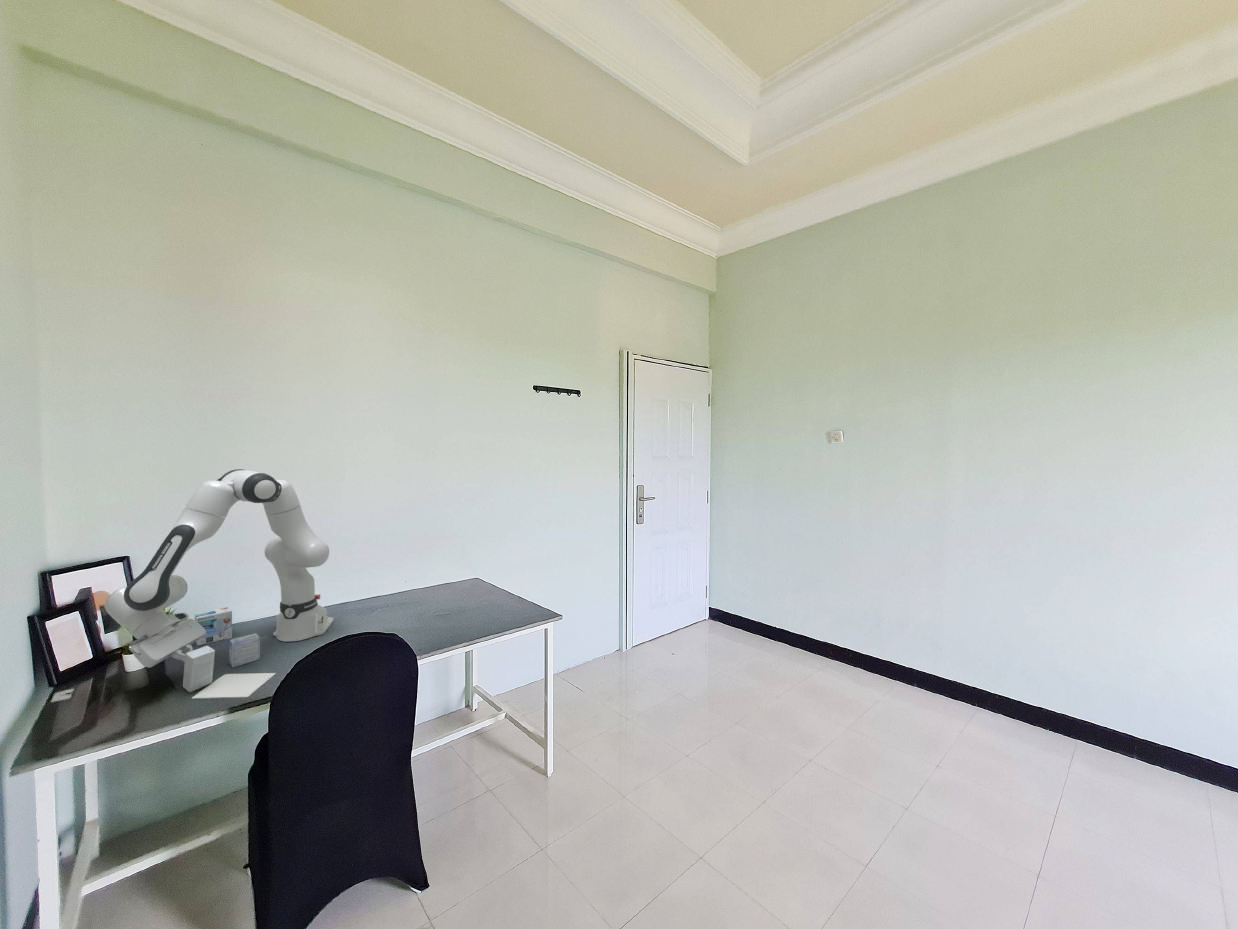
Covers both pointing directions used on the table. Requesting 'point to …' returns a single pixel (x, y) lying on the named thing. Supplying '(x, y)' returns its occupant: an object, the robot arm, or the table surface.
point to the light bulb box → (215, 624)
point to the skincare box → (198, 668)
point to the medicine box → (244, 650)
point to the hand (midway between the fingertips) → (191, 659)
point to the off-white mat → (234, 686)
